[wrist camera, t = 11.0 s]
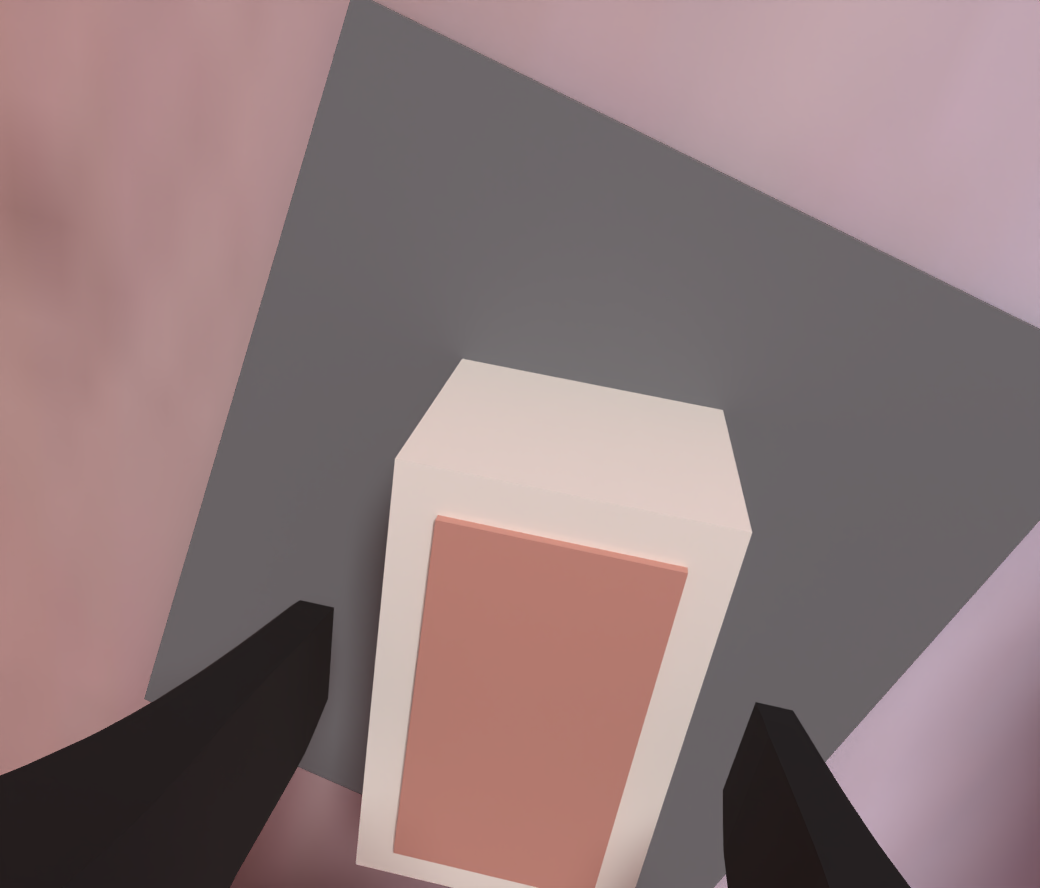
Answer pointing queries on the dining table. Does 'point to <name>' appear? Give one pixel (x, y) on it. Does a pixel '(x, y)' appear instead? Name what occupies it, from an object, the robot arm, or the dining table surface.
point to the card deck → (543, 628)
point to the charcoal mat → (614, 364)
